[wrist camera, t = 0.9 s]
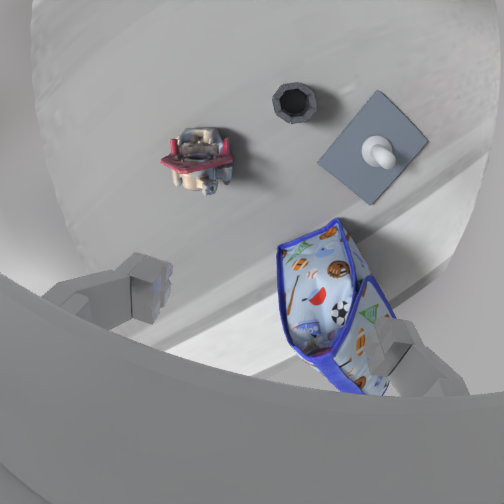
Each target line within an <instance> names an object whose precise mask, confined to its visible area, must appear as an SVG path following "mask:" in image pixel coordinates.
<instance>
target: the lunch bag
mask: <svg viewBox="0 0 504 504" xmlns="http://www.w3.org/2000/svg"><path fill="white" fill-rule="evenodd" d="M276 260H277V288H278V298H279V311H280V316H281V321H282V325H283V330H284V333H285V335H286V338H287V341H288V343H289V345H290V346H291V347H292V349H293V350H294V351H295V353H296V354H297V355H298V356H299V357H300V358H301V359H302V360H304V361H305V362H306V363H308V364H309V365H310V366H312V367H313V368H314V369H316V370H317V371H318V372H320V373H321V374H322V375H323V376H325V377H326V378H327V379H328V380H329V381H330V383H332V384H333V385H334V386H335V387H336V388H337V389H338V390H340V392H343V393H353V394H364V395H376V396H383V395H384V393H385V391H386V390H387V387H388V385H389V382H390V381H389V380H388V377H382V376H374V375H370V372H369V368H368V364H367V362H368V361H369V358H368V357H367V356H366V355H365V352H364V344H365V340H366V337H367V336H368V334H369V332H371V331H372V330H374V329H375V325H374V324H375V322H376V320H377V319H378V318H379V317H380V316H383V317H389V318H394V319H396V316H395V314H394V313H393V310H392V309H391V307H390V305H389V303H388V301H387V299H386V298H385V296H384V294H383V292H382V290H381V288H380V287H379V285H378V283H377V281H376V280H375V278H374V277H373V275H372V273H371V271H370V269H369V267H368V265H367V263H366V261H365V259H364V257H363V256H362V254H361V252H360V251H359V249H358V247H357V245H356V244H355V242H354V241H353V239H352V238H351V236H350V235H349V233H348V232H347V231H346V229H345V228H344V227H343V226H342V224H341V222H340V220H339V219H336V218H335V219H333V220H332V221H331V222H330V223H329V224H327V226H326V227H323V228H322V229H319V230H317V231H314V232H312V233H309V234H306V235H304V236H302V237H299V238H297V239H295V240H293V241H290V242H288V243H285V244H281V245H279V246H278V247H277V255H276Z"/></svg>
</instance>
